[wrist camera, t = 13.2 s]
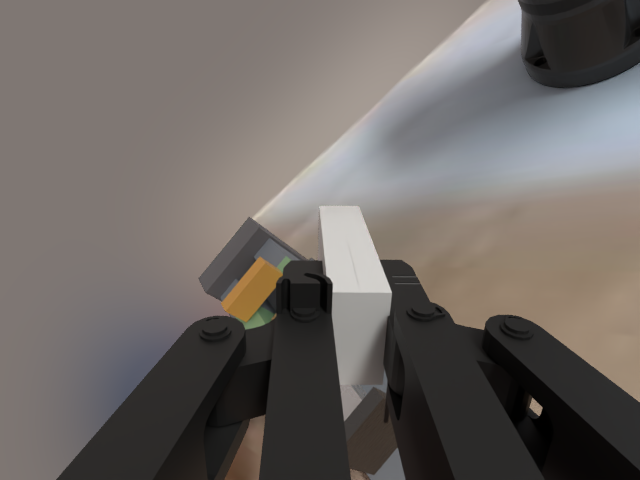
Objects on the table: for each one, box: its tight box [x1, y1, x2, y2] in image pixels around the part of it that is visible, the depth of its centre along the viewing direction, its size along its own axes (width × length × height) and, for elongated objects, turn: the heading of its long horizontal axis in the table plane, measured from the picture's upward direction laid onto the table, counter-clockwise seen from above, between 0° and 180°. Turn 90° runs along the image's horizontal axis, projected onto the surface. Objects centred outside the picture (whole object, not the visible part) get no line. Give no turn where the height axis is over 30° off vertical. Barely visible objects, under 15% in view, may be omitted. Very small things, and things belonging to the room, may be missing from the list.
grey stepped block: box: [199, 217, 405, 480], centre depth 45 cm, size 32×11×13 cm, turn 37°
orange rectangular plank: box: [221, 257, 283, 322], centre depth 45 cm, size 2×6×3 cm, turn 127°
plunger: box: [271, 314, 398, 475], centre depth 38 cm, size 17×6×8 cm, turn 37°
